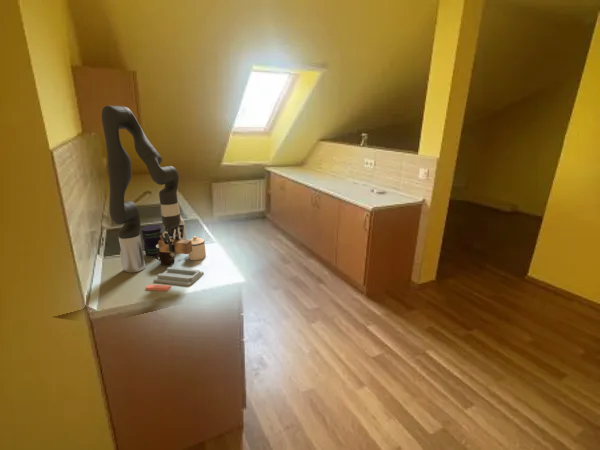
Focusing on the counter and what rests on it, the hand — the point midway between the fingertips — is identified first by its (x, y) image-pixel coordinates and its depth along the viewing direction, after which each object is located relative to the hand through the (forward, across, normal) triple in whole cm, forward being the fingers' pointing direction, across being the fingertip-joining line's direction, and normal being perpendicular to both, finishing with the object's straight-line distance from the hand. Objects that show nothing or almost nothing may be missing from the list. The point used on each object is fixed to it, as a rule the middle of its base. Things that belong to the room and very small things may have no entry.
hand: (175, 250), depth 146 cm
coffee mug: (+14, -12, -16) cm, 24 cm away
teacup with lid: (+14, -24, -6) cm, 28 cm away
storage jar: (+14, -23, -30) cm, 40 cm away
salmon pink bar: (+14, +11, -3) cm, 18 cm away
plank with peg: (+1, 0, 0) cm, 1 cm away
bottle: (+14, -34, -21) cm, 42 cm away
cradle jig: (+14, 0, 0) cm, 14 cm away
